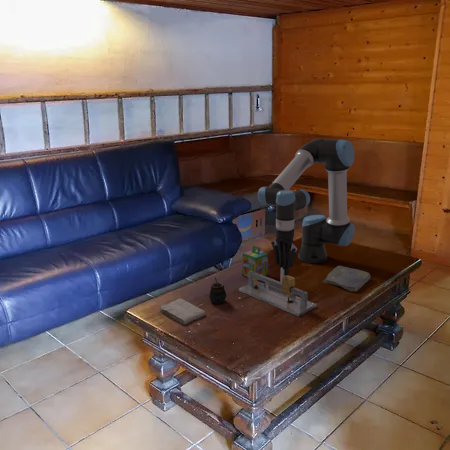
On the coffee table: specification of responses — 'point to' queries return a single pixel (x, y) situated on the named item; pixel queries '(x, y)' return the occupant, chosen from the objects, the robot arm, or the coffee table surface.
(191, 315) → the washcloth
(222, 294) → the mate gourd
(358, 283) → the grey stone slab
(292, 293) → the combination wrench
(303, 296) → the trammel beam
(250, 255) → the chalk box
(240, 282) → the coffee table surface
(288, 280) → the block
